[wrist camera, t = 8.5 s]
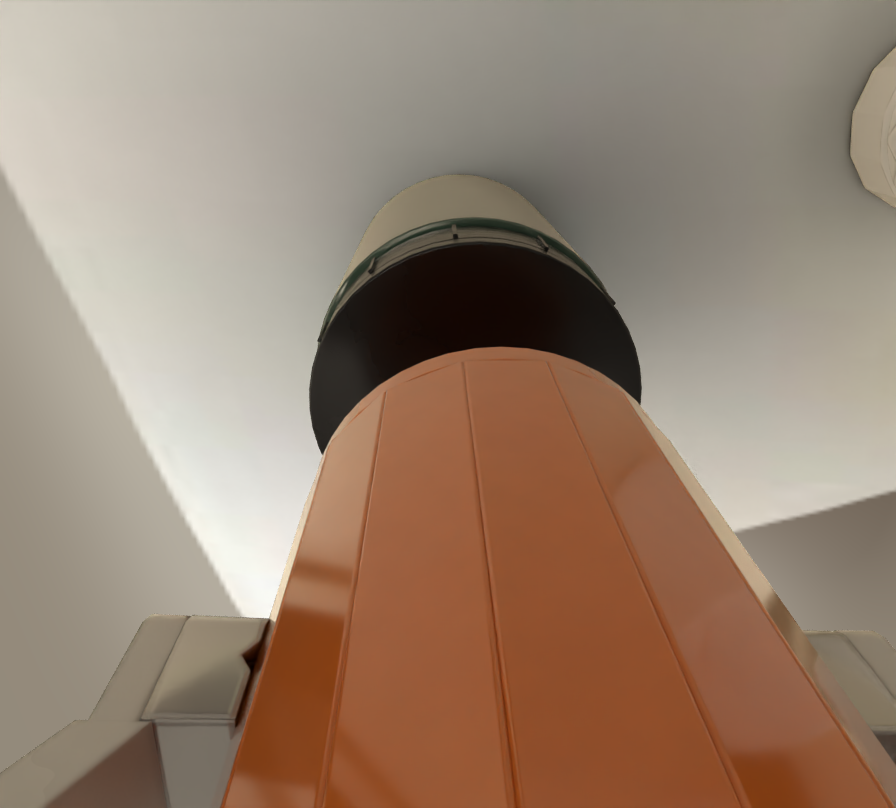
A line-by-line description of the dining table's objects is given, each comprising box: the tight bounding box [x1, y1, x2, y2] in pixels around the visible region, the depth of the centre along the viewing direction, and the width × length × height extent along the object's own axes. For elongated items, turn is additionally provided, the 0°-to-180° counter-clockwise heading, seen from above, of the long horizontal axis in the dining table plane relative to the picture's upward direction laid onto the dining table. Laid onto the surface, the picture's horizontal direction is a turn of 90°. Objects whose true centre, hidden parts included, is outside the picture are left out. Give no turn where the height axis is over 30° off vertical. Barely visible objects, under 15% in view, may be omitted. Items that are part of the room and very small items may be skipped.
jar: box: [318, 174, 609, 347], centre depth 22 cm, size 8×8×12 cm
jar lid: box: [309, 224, 642, 455], centre depth 17 cm, size 8×8×2 cm
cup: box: [210, 347, 896, 808], centre depth 8 cm, size 6×6×8 cm
